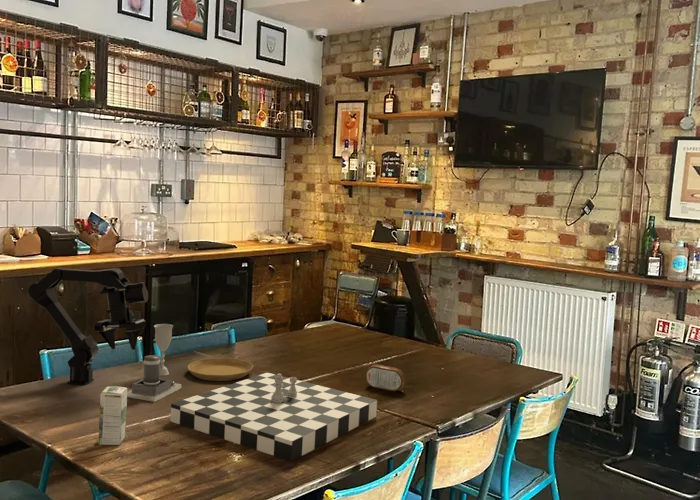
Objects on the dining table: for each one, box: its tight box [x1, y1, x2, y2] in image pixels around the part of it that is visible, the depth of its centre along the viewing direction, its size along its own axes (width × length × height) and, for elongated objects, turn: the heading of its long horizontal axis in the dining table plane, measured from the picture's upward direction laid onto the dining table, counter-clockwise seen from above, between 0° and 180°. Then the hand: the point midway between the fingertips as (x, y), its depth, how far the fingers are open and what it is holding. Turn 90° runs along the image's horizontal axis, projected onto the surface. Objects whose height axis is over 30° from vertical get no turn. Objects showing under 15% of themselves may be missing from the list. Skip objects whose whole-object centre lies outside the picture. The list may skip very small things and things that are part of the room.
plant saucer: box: [187, 357, 254, 382], centre depth 249 cm, size 24×24×3 cm
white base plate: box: [127, 377, 182, 403], centre depth 222 cm, size 11×16×4 cm
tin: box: [364, 363, 406, 392], centre depth 241 cm, size 15×3×8 cm, turn 65°
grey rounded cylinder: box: [143, 354, 161, 386], centre depth 220 cm, size 5×5×11 cm
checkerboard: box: [170, 372, 378, 462], centre depth 204 cm, size 45×45×15 cm
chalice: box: [153, 323, 174, 377], centre depth 244 cm, size 7×7×18 cm
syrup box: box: [98, 385, 128, 446], centre depth 179 cm, size 6×6×14 cm
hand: (123, 349), depth 228 cm, fingers open, 9 cm apart
